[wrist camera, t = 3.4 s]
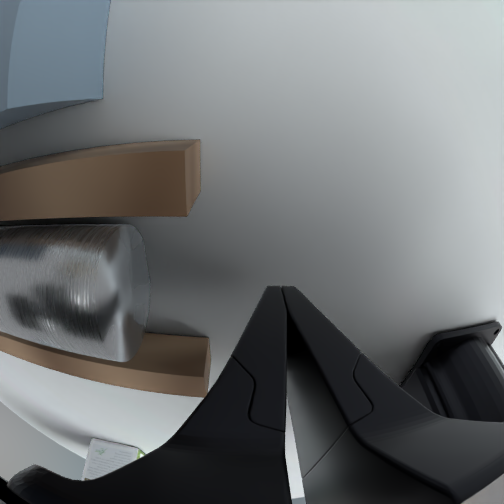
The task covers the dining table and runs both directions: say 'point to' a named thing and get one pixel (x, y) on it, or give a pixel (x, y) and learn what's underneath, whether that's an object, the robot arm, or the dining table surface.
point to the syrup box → (107, 458)
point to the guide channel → (113, 205)
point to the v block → (50, 55)
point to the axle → (75, 287)
